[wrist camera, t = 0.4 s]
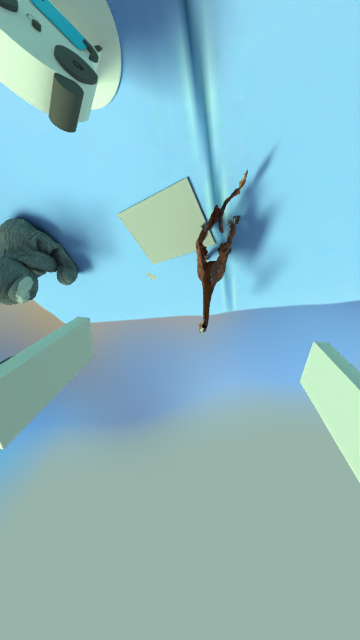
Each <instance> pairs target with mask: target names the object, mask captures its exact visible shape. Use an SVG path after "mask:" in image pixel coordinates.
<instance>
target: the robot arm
mask: <svg viewBox="0 0 360 640" xmlns="http://www.w3.org/2000/svg"><path fill="white" fill-rule="evenodd" d="M93 357H94V348H93V341H92V333H91V326H90V319H89V318H85V317H77V318H75V319H74V320H72V321H70V322H69V323H67V324H65V325H64V326H62V327H61V328H59V329H57V330H56V331H54V332H52V333H51V334H49V335H48V336H46V337H44V338H43V339H41V340H40V341H38V342H36V343H35V344H33V345H31V346H30V347H28V348H27V349H25V350H23V351H22V352H20V353H18V354H17V355H14V356H12V357H9V358H7V359H5V360H4V361H2V362H1V363H0V449H4V448H6V446H7V445H8V444H9V443H10V442H11V441H12V440H13V439H14V438H15V437H16V436H17V435H18V434H19V433H20V432H21V431H22V430H23V429H24V428H25V427H26V426H27V425H28V424H29V423H30V422H31V421H32V420H33V419H34V418H35V417H36V416H37V415H38V413H39V412H40V411H41V410H42V409H43V408H44V407H45V406H46V405H47V404H48V403H49V402H50V401H51V400H52V399H53V398H54V397H55V396H56V395H57V394H58V393H59V392H60V391H61V390H62V389H63V388H64V387H65V386H66V385H67V384H68V383H69V382H70V380H71V379H72V378H73V377H74V376H75V375H76V374H77V373H78V372H79V371H80V370H81V369H82V368H83V367H84V366H85V365H86V364H87V363H88V362H89V361H90V360H91V359H92V358H93ZM300 383H301V384H302V386H303V388H304V389H305V391H306V393H307V394H308V396H309V398H310V399H311V401H312V403H313V405H314V406H315V408H316V410H317V411H318V413H319V415H320V416H321V418H322V420H323V422H324V423H325V425H326V427H327V428H328V430H329V432H330V433H331V435H332V437H333V438H334V440H335V442H336V444H337V445H338V447H339V449H340V450H341V452H342V454H343V455H344V457H345V459H346V460H347V462H348V464H349V466H350V467H351V469H352V471H353V472H354V474H355V476H356V477H357V479H358V481H359V483H360V372H359V371H358V370H357V369H356V368H355V367H354V366H353V365H352V364H350V363H349V362H348V361H347V360H346V359H345V358H344V357H343V356H342V355H341V354H340V353H339V352H338V351H337V350H336V349H334V348H333V347H332V346H331V345H330V344H329V343H325V342H315V341H314V342H313V345H312V348H311V351H310V354H309V356H308V360H307V362H306V365H305V368H304V371H303V374H302V377H301V380H300Z"/></svg>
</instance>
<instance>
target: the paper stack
mask: <svg viewBox="0 0 360 640" xmlns="http://www.w3.org/2000/svg"><path fill="white" fill-rule="evenodd" d="M117 215H118V217H119V218H120V219H121V221H122V222H123V224H124V225H125V226H126V228H127V229H128V230H129V232H130V233H131V235H132V236H133V237H134V239H135V240H136V241H137V243H138V244H139V246H140V247H141V248H142V250H143V251H144V252H145V254H146V255H147V257H148V258H149V259H150V261H151V262H152V263H153V264H156V263H159V262H162V261H165V260H168V259H171V258H174V257H178V256H181V255H184V254H187V253H190V252H193V251H196V241H197V239H198V237H199V234H200V232H201V230H202V228H201V225H203V223H204V231H206V228H207V224H206V221H205V219H204V217H203V214H202V212H201V210H200V207H199V205H198V202H197V200H196V198H195V195H194V193H193V191H192V188H191V186H190V184H189V181H188V179H187V178H185V179H183V180H181V181H179V182H177V183H176V184H174V185H172V186H170V187H168V188H166V189H164V190H162V191H161V192H159V193H157V194H155V195H153V196H151V197H149V198H147V199H145V200H144V201H142V202H140V203H138V204H136V205H134V206H132V207H130V208H129V209H127V210H125V211H123V212H121V213H119V214H117ZM214 244H215V243H214V240H213V238H212V235H211V233H210V231H208V235H207V237H206V238H205V240H204V241H203V245H204V246H205V247H208V246H211V245H214ZM146 274H147V275H148V276H149V277H150V279H151V280H152V279H155V278H158V277H156V276H154V275H151V274H149V273H147V272H146Z"/></svg>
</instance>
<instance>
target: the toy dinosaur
mask: <svg viewBox="0 0 360 640" xmlns="http://www.w3.org/2000/svg"><path fill="white" fill-rule="evenodd" d="M247 173H248V170H247V172H246V173H245V174H244V175H245V176H244V178H242V179H241V181H240V182H239V188H237V189H235V191H234V192H233V193H232V194H231V196H230V197H229V198H227V199H226V200H225V202H224V204H223V206H222V208H221V209H219V208H218V205H216V206H215V208H214V211H213V213H212V214H211V217H210V219H209V222H208V225H207V228H206V231H204V223H203V225H201V228H202V230H201V232H200V234H199V237H198V239H197V241H196V250H197V255H198V256H197V262H198V265H197V268H198V269H197V272H198V277H199V279H200V280H201V281H202V286H203V322H202V323H199V331H200V333H204V332H205V331H206V328H207V325H208V319H209V307H210V301H211V295H212V293H213V290H214V287H215V285H216V283H217V282H218V281H220V280H221V279H222V277H223V275H224V272H225V267H226V262H227V258H228V255H229V253H230V251H231V249H230V246H231V244H232V239H233V236H234V234H235V228H236V224H238V221H239V218H240V216H238V217H237V218H236V216H234V217H233V218H234V222H233V223H232V222H231V220H230V221H228V224H229V223H230V224H231V225H230V227H231V231H230V236H228V239H227V242H226V243H224V244H221V245H220V248H219V249H218V251H219V257H218V258H217V261H209V262H206V261H208V257H207V256H208V255H206V254H207V253H208V251H207V250H206V248H207V247H205V246H204V245H203V241H204V240H205V238H206V237H207V235H208V231H209V230H210V228H211V227H212V226H213V224H214V223H216V222H217V221H218V222H219V230H220V232H221V233H223V231H224V230H223V225H222V222H223V221H222V217H223V214H224V210H225V207H226V205H227V203H228V202H229V201H230V199H231V198H233V197H234V196H236V195H238V194H240V191H239V190H240V189H241V188H242V187H243V185H244V184H245V182H246V180H245V179H246V177H247ZM218 214H219V215H218ZM217 217H218V219H217ZM235 218H236V220H235ZM228 220H229V219H228ZM228 224H227V225H228ZM203 258H204V260H203Z"/></svg>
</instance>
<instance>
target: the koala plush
mask: <svg viewBox="0 0 360 640" xmlns="http://www.w3.org/2000/svg"><path fill="white" fill-rule="evenodd" d="M56 271H57V279H58V281H59V282H60V283H61V284H63V285H70V284H72V283H73V282H74V281H75V280H76V278H77V275H78V273H77V272H78V270H77V267H76V265H75V264H74V262H73V261H72V260H71V258H70V257H69V256H68V255H67V254H66V252H65V250H64V248H63V246H61V244H59V243H57V242H56V243H55V242H54V241H53V239H52V238H51V237H50V236H49V235H47V234H46V233H43V232H41V231H39V230H37V229H36V228H35V227H34V226H33V225H32V224H31V223H29V222H28V221H27V220H24V219H19V218H18V219H9V220H7V221H5V222H4V223H3V224H1V226H0V303H1V304H5V305H12V304H17V303H25V302H27V301H28V300H32V299H33V298H34V297H35V296H36V293H37V291H38V279H37V278H38V277H40V276H41V275H44V274H45V273H46V272H56Z"/></svg>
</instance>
